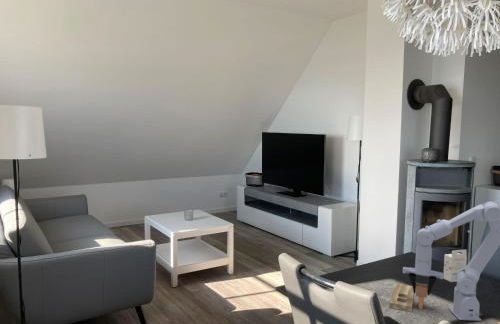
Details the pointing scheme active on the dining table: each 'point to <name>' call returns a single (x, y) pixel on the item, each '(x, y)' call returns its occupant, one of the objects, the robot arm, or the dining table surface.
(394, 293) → the rail
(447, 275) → the ink cartridge box
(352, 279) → the dining table surface
